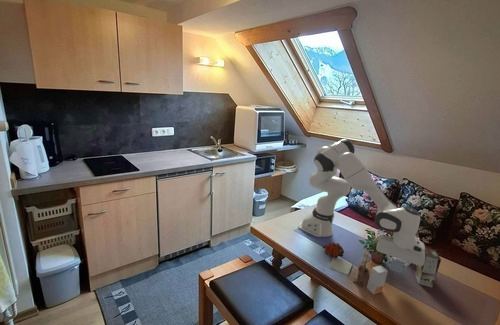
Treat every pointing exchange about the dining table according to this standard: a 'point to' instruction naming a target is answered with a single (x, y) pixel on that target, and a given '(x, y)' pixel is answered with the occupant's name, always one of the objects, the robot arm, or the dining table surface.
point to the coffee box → (428, 268)
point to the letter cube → (396, 265)
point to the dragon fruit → (333, 250)
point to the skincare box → (377, 279)
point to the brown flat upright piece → (362, 269)
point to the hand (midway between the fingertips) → (396, 265)
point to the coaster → (340, 266)
